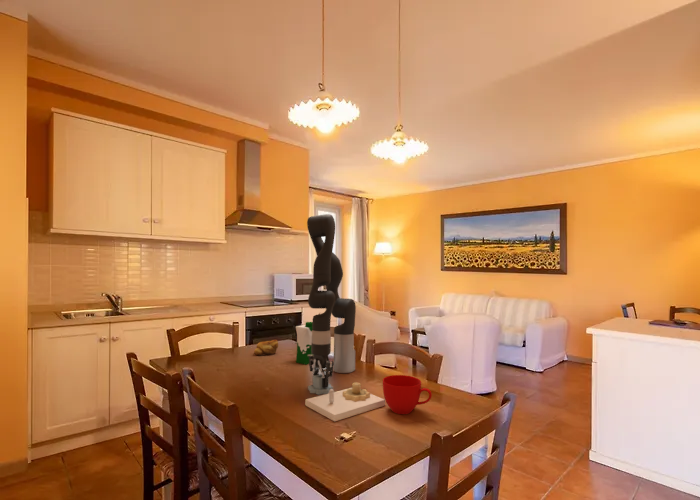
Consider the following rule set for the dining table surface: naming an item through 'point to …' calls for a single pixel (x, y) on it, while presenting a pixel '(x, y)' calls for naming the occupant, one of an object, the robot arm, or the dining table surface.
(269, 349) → the bread roll
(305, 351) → the milk carton
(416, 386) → the ceramic cup
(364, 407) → the carrier plate
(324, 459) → the dining table surface
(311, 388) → the planet gear
